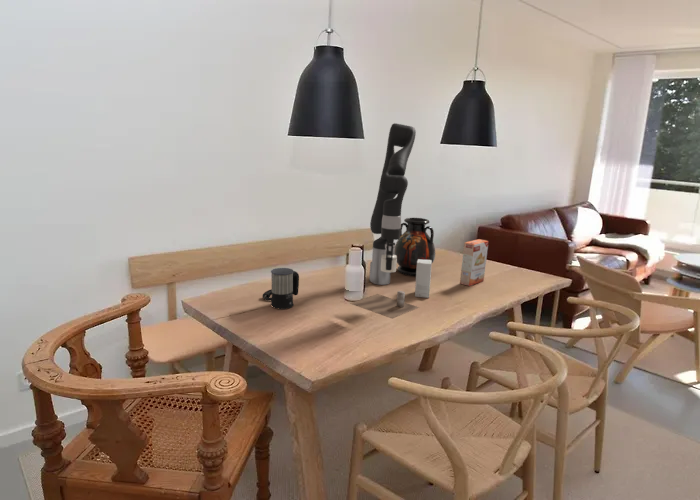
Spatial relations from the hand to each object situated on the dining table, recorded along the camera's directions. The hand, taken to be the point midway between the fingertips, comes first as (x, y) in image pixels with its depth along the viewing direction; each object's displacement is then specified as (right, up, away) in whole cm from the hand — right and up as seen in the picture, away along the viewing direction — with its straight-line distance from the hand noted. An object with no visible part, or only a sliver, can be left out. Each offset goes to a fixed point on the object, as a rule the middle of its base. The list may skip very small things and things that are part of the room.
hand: (388, 267), depth 190 cm
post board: (-2, -17, +4) cm, 18 cm away
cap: (0, -1, 0) cm, 1 cm away
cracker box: (+45, -9, +45) cm, 64 cm away
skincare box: (+17, -13, +24) cm, 32 cm away
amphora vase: (+18, -5, +59) cm, 62 cm away
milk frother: (-46, -15, +6) cm, 48 cm away
